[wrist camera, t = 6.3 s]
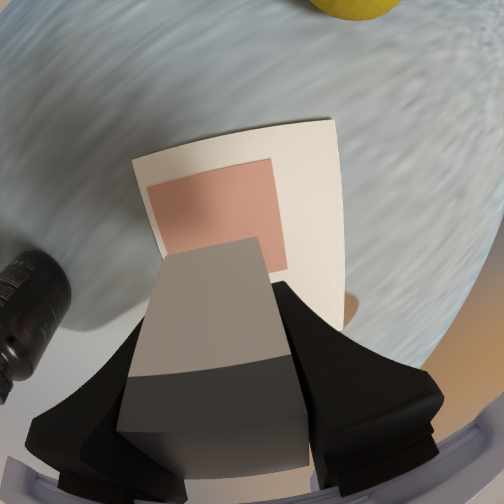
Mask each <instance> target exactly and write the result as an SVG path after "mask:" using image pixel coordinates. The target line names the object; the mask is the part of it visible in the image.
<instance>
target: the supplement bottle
mask: <svg viewBox="0 0 504 504" xmlns="http://www.w3.org/2000/svg"><path fill="white" fill-rule="evenodd" d="M70 303H71V290H70V286H69V283H68V281H67V278H66V276H65V275H64V273H63V271H62V270H61V269H60V267H59V266H58V265H57V264H56V263H55V262H54V261H53V260H52V259H51V258H49V257H48V256H46V255H45V254H43V253H40V252H37V251H26V252H23V253H21V254H20V255H19V256H18V257H17V258H15V259H14V260H13V261H12V262H11V263H10V264H9V265H8V266H7V267H6V268H5V269H4V270H3V271H2V272H1V273H0V405H3V404H4V403H5V401H6V399H7V396H8V394H9V392H11V390H12V388H13V381H23V380H26V379H28V378H30V377H31V376H32V375H33V373H34V371H35V369H36V367H37V365H38V363H39V361H40V359H41V357H42V355H43V353H44V352H45V350H46V348H47V346H48V344H49V342H50V340H51V339H52V337H53V335H54V333H55V331H56V330H57V328H58V326H59V325H60V323H61V321H62V319H63V318H64V316H65V314H66V312H67V311H68V309H69V307H70ZM12 380H13V381H12Z"/></svg>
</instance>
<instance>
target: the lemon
mask: <svg viewBox="0 0 504 504" xmlns="http://www.w3.org/2000/svg"><path fill="white" fill-rule="evenodd" d="M310 1H311V2H312V3H313V4H314V5H315V6H316V7H317V8H319V9H320V10H322V11H323V12H325V13H327V14H329V15H331V16H333V17H336V18H340V19H343V20H351V21H362V20H370V19H374V18H376V17H379V16H382V15H384V14H386V13H388V12H389V11H390V10H392V9H393V8H394V7H395V6H396V5H397V4H398V3H399V2H400V1H401V0H310Z"/></svg>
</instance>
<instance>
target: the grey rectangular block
mask: <svg viewBox="0 0 504 504" xmlns="http://www.w3.org/2000/svg"><path fill="white" fill-rule="evenodd" d="M116 431H117V432H118V433H119V434H120V435H121V436H123V437H124V438H125V439H126V440H128V441H129V442H130V443H131V444H133V445H134V446H135V447H137V448H138V449H139V450H141V451H142V452H143V453H145V454H146V455H147V456H149V457H150V458H152V459H153V460H154V461H156V462H157V463H159V464H160V465H162V466H163V467H165V468H166V469H168V470H169V471H171V472H173V473H174V474H176V475H177V476H179V477H181V478H182V479H221V478H235V477H245V476H253V475H261V474H268V473H274V472H279V471H285V470H290V469H295V468H300V467H304V466H309V433H308V413H307V410H306V406H305V402H304V399H303V395H302V392H301V388H300V384H299V381H298V377H297V374H296V370H295V366H294V363H293V359H292V356H291V352H290V348H289V345H288V341H287V338H286V334H285V331H284V327H283V324H282V320H281V317H280V313H279V310H278V306H277V303H276V299H275V296H274V292H273V289H272V285H271V282H270V278H269V275H268V271H267V268H266V264H265V261H264V258H263V254H262V251H261V247H260V244H259V240H258V237H257V236H254V237H250V238H245V239H240V240H235V241H231V242H226V243H221V244H216V245H212V246H207V247H202V248H198V249H193V250H189V251H184V252H180V253H175V254H170V255H166V256H165V258H164V261H163V264H162V267H161V269H160V272H159V275H158V278H157V281H156V284H155V287H154V290H153V293H152V296H151V299H150V302H149V305H148V308H147V311H146V315H145V317H144V321H143V324H142V327H141V331H140V334H139V338H138V341H137V344H136V348H135V352H134V355H133V359H132V363H131V367H130V370H129V374H128V378H127V382H126V386H125V391H124V395H123V399H122V404H121V408H120V413H119V418H118V423H117V428H116Z"/></svg>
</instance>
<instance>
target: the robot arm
mask: <svg viewBox="0 0 504 504" xmlns="http://www.w3.org/2000/svg"><path fill="white" fill-rule="evenodd" d="M271 285H272V289H273V292H274V296H275V299H276V303H277V306H278V310H279V313H280V317H281V320H282V324H283V327H284V331H285V334H286V338H287V341H288V345H289V348H290V352H291V356H292V359H293V363H294V366H295V370H296V374H297V377H298V381H299V384H300V388H301V392H302V395H303V399H304V402H305V406H306V410H307V413H308V433H309V443H310V448H311V452H312V457H313V461H314V465H315V470H314V471H313V474H312V476H311V478H310V487H311V492H312V493H307V494H303V495H298V496H294V497H288V498H282V499H275V500H269V501H261V502H253V503H241V504H467V503H468V502H469V501H471V500H472V499H473V498H474V497H475V496H477V495H478V494H479V493H480V492H481V491H482V490H483V489H485V488H486V487H487V486H488V485H489V484H490V483H491V482H492V481H494V480H495V479H496V478H497V477H498V476H499V475H500V474H501V473H502V472H503V471H504V392H503V393H502V394H501V395H499V396H498V397H497V398H496V399H494V400H493V401H492V402H491V403H489V404H488V405H487V406H486V407H485V408H484V409H483V410H482V411H481V412H480V413H479V414H478V415H477V416H476V418H475V419H474V420H473V421H472V422H470V423H469V424H467V425H466V426H464V427H463V428H461V429H460V430H458V431H457V432H455V433H453V434H452V435H450V436H449V437H447V438H445V439H444V440H442V441H440V442H438V443H437V444H435V441H434V439H433V438H432V435H431V434H433V432H434V429H433V427H432V425H431V423H430V422H431V420H432V419H433V418H434V416H435V415H436V414H437V412H438V411H439V410H440V408H441V406H442V404H443V402H444V395H443V394H442V392H441V390H440V389H439V387H438V385H437V384H436V382H435V381H434V380H433V379H432V378H431V376H430V375H429V374H428V372H426V371H423V370H420V369H417V368H413V367H410V366H407V365H404V364H401V363H398V362H395V361H393V360H390V359H388V358H386V357H383V356H381V355H379V354H377V353H375V352H373V351H371V350H369V349H367V348H365V347H363V346H361V345H359V344H358V343H356V342H354V341H353V340H351V339H349V338H348V337H346V336H345V335H343V334H342V333H340V332H339V331H337V330H336V329H335V328H333V327H332V326H331V325H329V324H328V323H327V322H326V321H324V320H323V319H322V318H321V317H319V316H318V315H317V314H316V313H315V312H314V311H313V310H312V309H311V308H310V307H308V306H307V305H306V304H305V303H304V302H303V301H302V300H301V299H300V298H299V297H298V296H297V294H296V293H295V292H294V291H293V290H292V289H291V288H290V286H289V285H288V284H287V282H285V281H279V282H275V283H271ZM144 317H145V316H144ZM144 317H143V318H142V320H141V321H140V322H139V324H138V325H137V326H136V327H135V329H134V330H133V331H132V333H131V334H130V335H129V336H128V338H127V339H126V340H125V342H124V343H123V344H122V345H121V346H120V347H119V349H118V350H117V351H116V352H115V353H114V355H113V356H112V357H111V358H110V359H109V360H108V362H107V363H106V364H105V365H104V366H103V367H102V368H101V369H100V370H99V371H98V372H97V373H96V374H95V375H94V376H93V377H92V378H91V379H89V380H88V381H87V382H86V383H85V384H84V385H82V386H81V387H80V388H79V389H78V390H77V391H76V392H74V393H73V394H72V395H70V396H69V397H68V398H66V399H65V400H63V401H62V402H60V403H59V404H57V405H56V406H55V407H53V408H51V409H49V410H48V411H46V412H44V413H42V414H41V415H39V416H37V417H36V418H33V420H32V423H31V426H30V429H29V432H28V435H27V439H26V442H25V447H26V448H27V450H28V451H29V452H30V453H32V454H33V455H34V456H36V457H37V458H38V459H40V460H41V461H43V462H44V463H46V464H47V465H49V466H51V467H52V468H54V469H55V470H57V471H59V472H60V475H59V480H56V479H53V478H51V477H48V476H45V475H43V474H40V473H38V472H36V471H35V470H34V469H32V468H31V467H29V466H28V465H25V464H24V463H22V462H20V461H18V460H16V459H14V458H11V457H10V456H8V457H7V461H6V465H5V469H4V473H3V477H2V481H1V487H0V500H1V501H3V502H4V503H6V504H184V503H185V502H186V501H187V500H188V498H187V494H186V489H185V484H184V479H182V478H181V477H179V476H177V475H176V474H174V473H173V472H171V471H169V470H168V469H166V468H165V467H163V466H162V465H160V464H159V463H157V462H156V461H154V460H153V459H152V458H150V457H149V456H147V455H146V454H145V453H143V452H142V451H141V450H139V449H138V448H137V447H135V446H134V445H133V444H131V443H130V442H129V441H128V440H126V439H125V438H124V437H123V436H121V435H120V434H119V433H118V432H117V431H116V428H117V423H118V418H119V413H120V408H121V404H122V399H123V395H124V391H125V386H126V382H127V378H128V374H129V370H130V367H131V363H132V359H133V355H134V352H135V348H136V344H137V341H138V338H139V334H140V331H141V327H142V324H143V321H144Z"/></svg>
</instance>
